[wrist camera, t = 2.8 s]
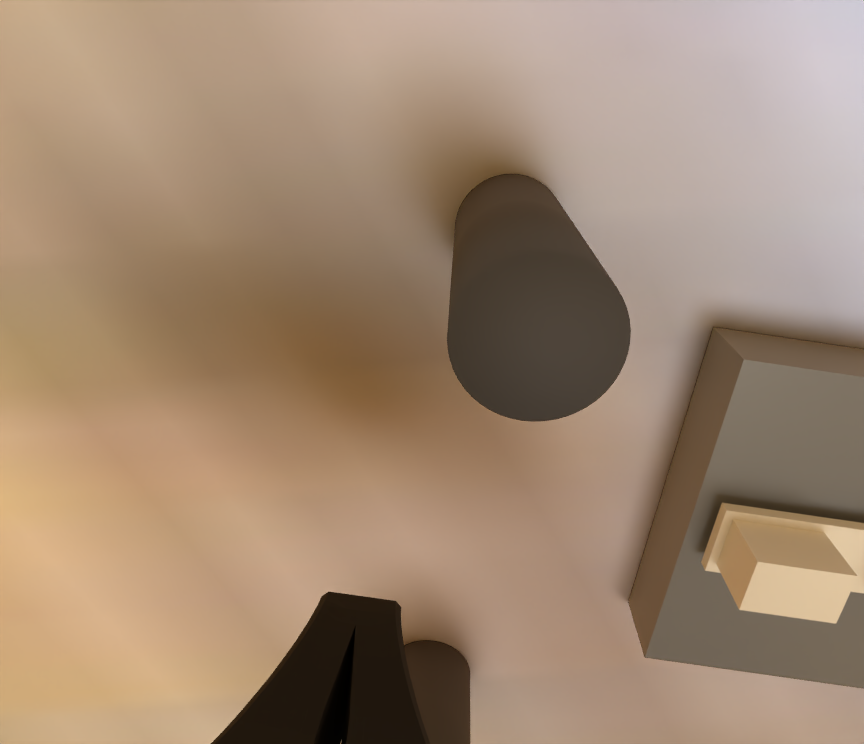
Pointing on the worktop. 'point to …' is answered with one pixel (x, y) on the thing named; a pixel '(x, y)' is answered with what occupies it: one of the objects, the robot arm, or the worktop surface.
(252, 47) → the worktop surface
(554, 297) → the post
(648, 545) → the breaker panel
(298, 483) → the worktop surface
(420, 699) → the post
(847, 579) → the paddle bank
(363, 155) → the worktop surface
